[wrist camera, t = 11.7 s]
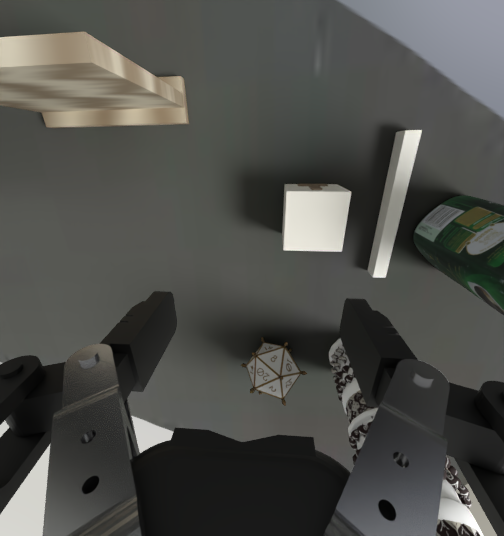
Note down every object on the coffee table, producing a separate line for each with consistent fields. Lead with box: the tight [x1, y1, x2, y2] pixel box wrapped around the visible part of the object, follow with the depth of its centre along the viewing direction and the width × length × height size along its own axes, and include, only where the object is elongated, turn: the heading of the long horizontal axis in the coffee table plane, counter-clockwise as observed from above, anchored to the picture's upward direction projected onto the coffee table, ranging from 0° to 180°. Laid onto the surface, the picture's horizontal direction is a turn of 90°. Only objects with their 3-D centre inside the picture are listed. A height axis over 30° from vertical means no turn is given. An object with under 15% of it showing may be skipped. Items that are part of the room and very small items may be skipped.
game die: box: [241, 338, 307, 405], centre depth 36 cm, size 9×8×10 cm
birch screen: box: [0, 32, 189, 128], centre depth 20 cm, size 16×4×15 cm, turn 91°
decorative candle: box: [329, 338, 484, 536], centre depth 27 cm, size 9×9×25 cm
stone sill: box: [368, 130, 422, 278], centre depth 28 cm, size 16×2×2 cm, turn 1°
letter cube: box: [282, 184, 351, 252], centre depth 27 cm, size 6×6×6 cm
